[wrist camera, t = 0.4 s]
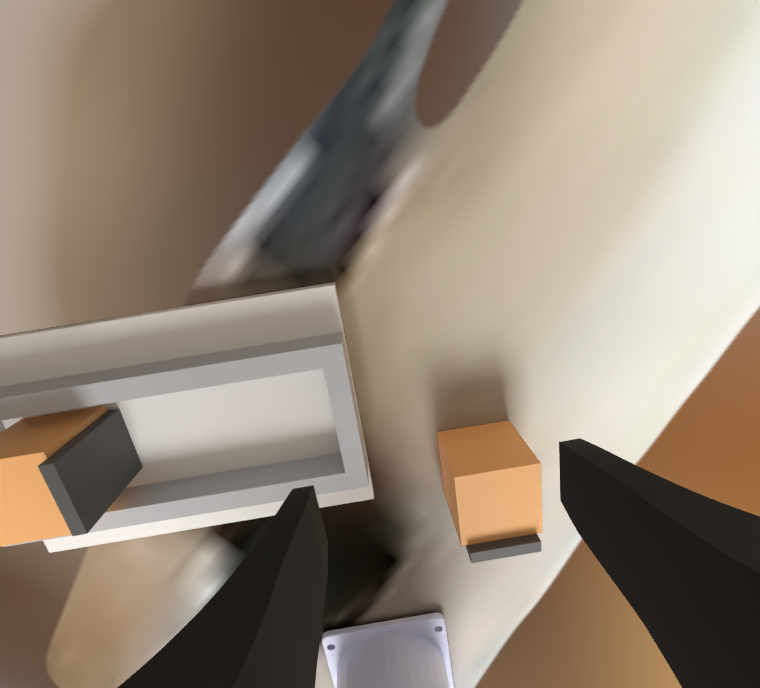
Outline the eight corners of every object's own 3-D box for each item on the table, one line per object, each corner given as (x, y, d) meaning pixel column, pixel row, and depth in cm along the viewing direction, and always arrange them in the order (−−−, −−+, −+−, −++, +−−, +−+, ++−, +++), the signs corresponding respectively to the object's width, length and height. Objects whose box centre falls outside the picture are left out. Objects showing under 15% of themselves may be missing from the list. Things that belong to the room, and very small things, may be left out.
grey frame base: (373, 489, 23) (378, 567, 18) (59, 541, 23) (-25, 635, 18) (335, 282, 19) (327, 307, 14) (-44, 342, 19) (-188, 390, 14)
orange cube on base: (508, 420, 22) (545, 470, 18) (512, 488, 23) (547, 550, 19) (437, 431, 22) (456, 484, 18) (445, 499, 23) (465, 563, 19)
